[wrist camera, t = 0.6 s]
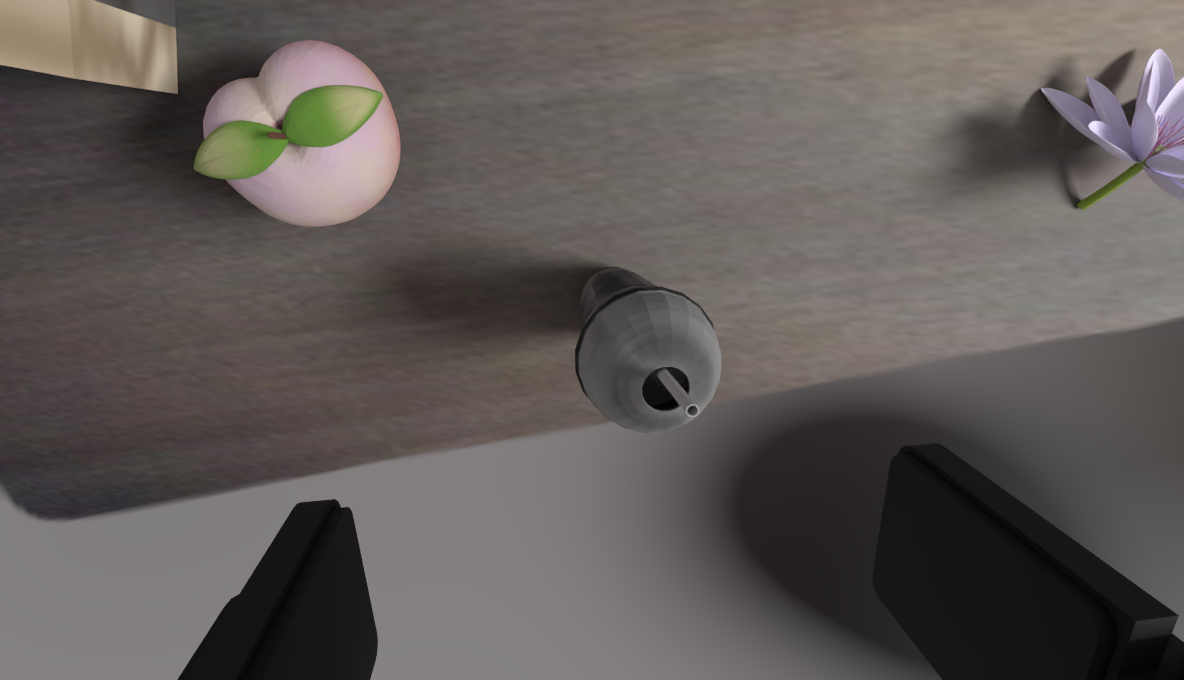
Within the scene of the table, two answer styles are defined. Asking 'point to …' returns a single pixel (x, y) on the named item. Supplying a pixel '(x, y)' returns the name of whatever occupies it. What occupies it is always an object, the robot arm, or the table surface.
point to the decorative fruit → (304, 136)
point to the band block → (93, 40)
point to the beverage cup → (644, 352)
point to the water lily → (1134, 126)
